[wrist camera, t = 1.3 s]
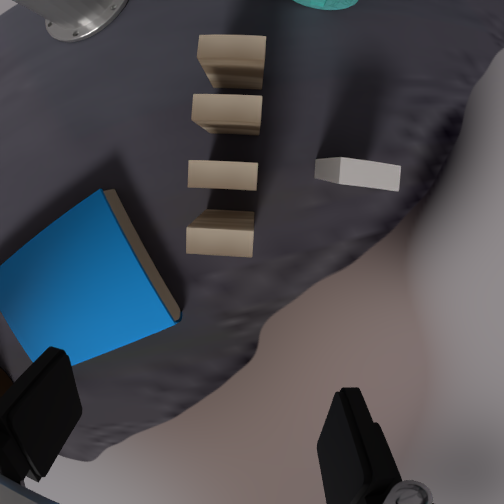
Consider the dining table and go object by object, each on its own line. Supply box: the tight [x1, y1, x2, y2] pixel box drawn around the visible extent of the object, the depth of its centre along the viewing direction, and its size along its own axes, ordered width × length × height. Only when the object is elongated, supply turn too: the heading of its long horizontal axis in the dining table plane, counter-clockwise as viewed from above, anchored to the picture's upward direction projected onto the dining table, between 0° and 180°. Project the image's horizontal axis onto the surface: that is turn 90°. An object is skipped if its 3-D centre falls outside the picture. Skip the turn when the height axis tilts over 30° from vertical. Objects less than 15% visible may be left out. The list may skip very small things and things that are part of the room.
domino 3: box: [188, 160, 258, 191], centre depth 27 cm, size 2×5×10 cm, turn 87°
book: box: [0, 189, 182, 366], centre depth 34 cm, size 17×4×25 cm
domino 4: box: [186, 209, 254, 257], centre depth 28 cm, size 2×5×10 cm, turn 86°
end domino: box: [314, 157, 401, 191], centre depth 27 cm, size 2×5×10 cm, turn 86°
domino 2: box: [191, 94, 262, 135], centre depth 26 cm, size 2×5×10 cm, turn 86°
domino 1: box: [197, 35, 266, 90], centre depth 24 cm, size 2×5×10 cm, turn 87°
